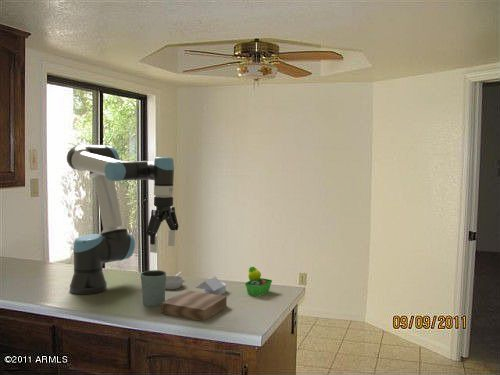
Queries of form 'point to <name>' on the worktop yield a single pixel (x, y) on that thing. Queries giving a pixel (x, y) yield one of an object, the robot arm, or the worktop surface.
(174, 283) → the small pan
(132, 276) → the worktop surface
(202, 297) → the walnut stand
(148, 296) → the grey cup
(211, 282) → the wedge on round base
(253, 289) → the fruit basket
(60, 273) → the worktop surface
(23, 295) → the worktop surface
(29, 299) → the worktop surface
